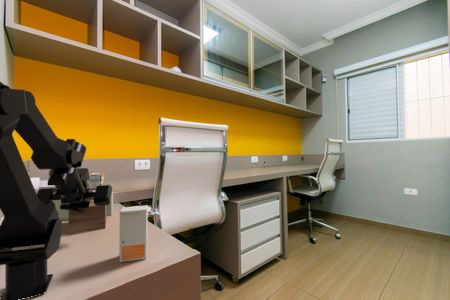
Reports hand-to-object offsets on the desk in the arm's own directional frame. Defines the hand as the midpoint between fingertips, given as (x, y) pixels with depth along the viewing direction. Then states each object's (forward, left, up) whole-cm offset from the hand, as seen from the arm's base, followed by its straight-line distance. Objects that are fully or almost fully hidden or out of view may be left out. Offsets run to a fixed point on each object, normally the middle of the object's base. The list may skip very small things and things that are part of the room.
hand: (82, 211), depth 68 cm
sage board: (+19, +1, -7) cm, 20 cm away
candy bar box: (+26, -3, -7) cm, 27 cm away
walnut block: (+7, -2, -7) cm, 10 cm away
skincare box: (-25, -13, -7) cm, 29 cm away
